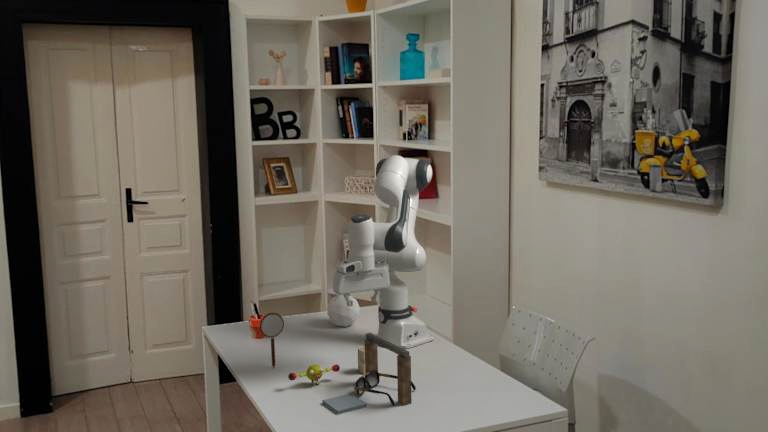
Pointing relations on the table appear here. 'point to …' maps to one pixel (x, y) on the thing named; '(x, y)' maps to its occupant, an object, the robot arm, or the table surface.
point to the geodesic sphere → (343, 311)
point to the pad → (344, 403)
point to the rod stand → (402, 371)
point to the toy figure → (314, 373)
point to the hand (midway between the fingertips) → (362, 303)
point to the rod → (387, 345)
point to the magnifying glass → (272, 329)
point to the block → (361, 360)
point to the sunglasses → (373, 383)
